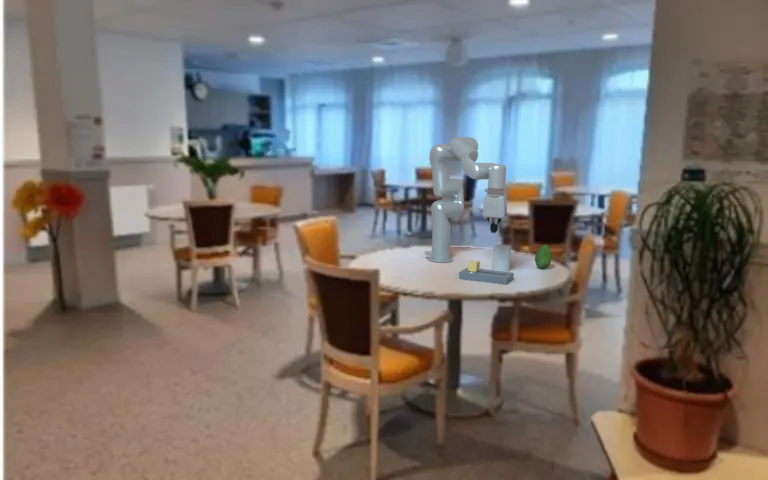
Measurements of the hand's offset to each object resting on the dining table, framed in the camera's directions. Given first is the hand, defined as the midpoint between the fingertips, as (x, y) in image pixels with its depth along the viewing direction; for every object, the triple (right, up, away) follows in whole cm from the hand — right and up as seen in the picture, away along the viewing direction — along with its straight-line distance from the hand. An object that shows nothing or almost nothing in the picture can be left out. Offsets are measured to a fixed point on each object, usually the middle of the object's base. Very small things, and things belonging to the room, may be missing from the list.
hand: (493, 232), depth 264 cm
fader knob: (-9, -17, +4) cm, 20 cm away
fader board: (-3, -21, +1) cm, 22 cm away
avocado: (+29, -18, +25) cm, 42 cm away
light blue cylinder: (+8, -18, +20) cm, 29 cm away
